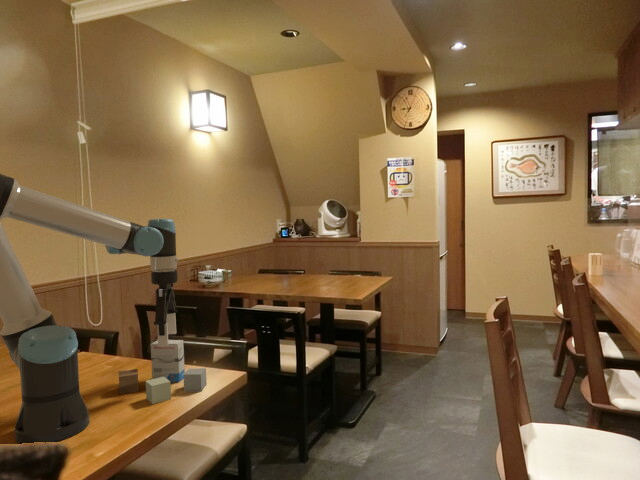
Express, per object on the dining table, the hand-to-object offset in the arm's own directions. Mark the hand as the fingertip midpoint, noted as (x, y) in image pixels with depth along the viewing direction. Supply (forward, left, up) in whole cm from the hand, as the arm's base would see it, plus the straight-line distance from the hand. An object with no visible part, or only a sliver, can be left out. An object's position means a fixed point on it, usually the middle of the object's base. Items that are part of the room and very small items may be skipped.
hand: (167, 339), depth 138 cm
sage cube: (-15, 0, -12) cm, 19 cm away
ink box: (0, 0, -12) cm, 12 cm away
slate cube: (-9, -9, -12) cm, 18 cm away
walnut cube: (-6, +10, -12) cm, 17 cm away
